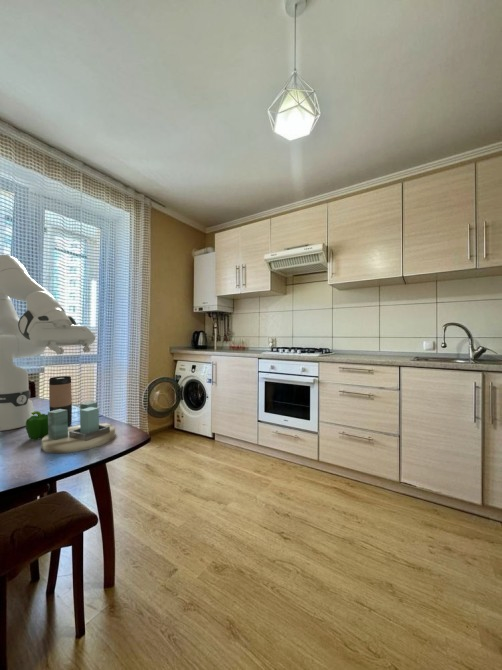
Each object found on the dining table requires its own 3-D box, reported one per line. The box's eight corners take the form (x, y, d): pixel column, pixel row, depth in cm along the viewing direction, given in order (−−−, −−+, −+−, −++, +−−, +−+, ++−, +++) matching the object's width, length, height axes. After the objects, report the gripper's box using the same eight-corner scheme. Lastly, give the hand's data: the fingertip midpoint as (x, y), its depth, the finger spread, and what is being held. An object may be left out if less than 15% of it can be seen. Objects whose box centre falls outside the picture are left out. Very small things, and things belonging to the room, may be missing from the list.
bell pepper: (50, 431, 107) (49, 406, 107) (57, 436, 102) (56, 409, 102) (22, 438, 101) (22, 411, 101) (28, 443, 96) (28, 415, 96)
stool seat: (35, 441, 98) (34, 408, 98) (102, 425, 114) (101, 397, 114) (50, 459, 83) (49, 421, 83) (125, 438, 99) (124, 406, 99)
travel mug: (76, 422, 118) (75, 376, 118) (62, 429, 110) (61, 379, 110) (60, 422, 119) (59, 376, 119) (44, 428, 111) (43, 379, 111)
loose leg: (80, 436, 95) (80, 409, 95) (91, 432, 99) (90, 407, 99) (88, 437, 94) (87, 411, 94) (99, 433, 97) (98, 408, 97)
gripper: (80, 331, 110) (98, 356, 106) (20, 331, 92) (39, 361, 88) (88, 319, 109) (105, 344, 105) (28, 317, 90) (47, 347, 86)
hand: (75, 352), depth 96 cm, fingers open, 8 cm apart
